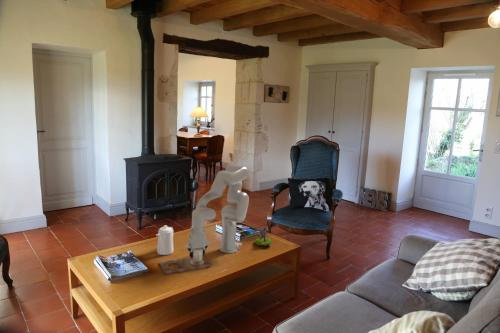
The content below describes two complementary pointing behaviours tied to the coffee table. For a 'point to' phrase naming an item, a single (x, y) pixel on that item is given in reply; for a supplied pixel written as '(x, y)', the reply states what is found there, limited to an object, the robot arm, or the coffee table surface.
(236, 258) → the coffee table surface
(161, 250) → the coffeepot
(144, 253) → the coffee table surface
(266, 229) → the animal figurine
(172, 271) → the board
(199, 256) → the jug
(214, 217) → the robot arm
